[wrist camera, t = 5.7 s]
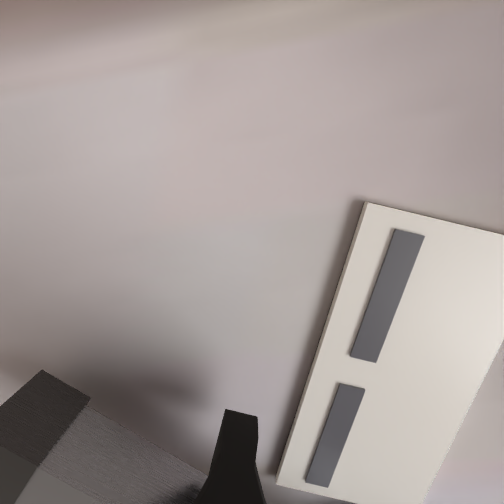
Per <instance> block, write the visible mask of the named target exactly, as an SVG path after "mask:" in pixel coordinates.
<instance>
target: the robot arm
mask: <svg viewBox="0 0 504 504" xmlns="http://www.w3.org/2000/svg"><path fill="white" fill-rule="evenodd" d="M257 444H258V419H257V417H256V416H252V415H248V414H244V413H240V412H236V411H232V410H228V409H225V413H224V416H223V420H222V424H221V428H220V432H219V436H218V440H217V443H216V447H215V451H214V455H213V459H212V463H211V467H210V472H209V476H208V478H207V479H206V481H205V483H204V485H203V486H202V488H201V490H200V492H199V493H198V495H197V497H196V499H195V500H194V502H193V504H266V501H265V498H264V494H263V490H262V486H261V483H260V479H259V475H258V471H257V467H256V462H255V460H256V452H257Z"/></svg>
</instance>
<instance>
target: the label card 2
mask: <svg viewBox="0 0 504 504" xmlns="http://www.w3.org/2000/svg"><path fill="white" fill-rule="evenodd" d="M503 339H504V235H502V234H498V233H494V232H490V231H486V230H482V229H477V228H473V227H469V226H465V225H461V224H457V223H453V222H448V221H444V220H440V219H436V218H432V217H428V216H423V215H419V214H415V213H411V212H407V211H403V210H398V209H394V208H390V207H386V206H382V205H378V204H374V203H369V202H365V203H364V206H363V209H362V212H361V215H360V218H359V221H358V225H357V228H356V231H355V234H354V237H353V240H352V243H351V246H350V249H349V252H348V255H347V258H346V262H345V265H344V268H343V271H342V274H341V277H340V280H339V283H338V286H337V289H336V292H335V295H334V299H333V302H332V305H331V308H330V311H329V314H328V317H327V320H326V323H325V326H324V329H323V332H322V336H321V339H320V342H319V345H318V348H317V351H316V354H315V360H316V363H321V364H325V365H329V366H333V367H338V368H342V369H346V370H350V371H355V372H359V373H363V374H367V375H372V376H376V377H380V378H384V379H389V380H393V381H397V382H401V383H405V384H410V385H414V386H418V387H422V388H427V389H431V390H435V391H439V392H444V393H448V394H452V395H456V396H461V397H465V398H469V399H473V400H474V398H475V396H476V394H477V392H478V390H479V388H480V386H481V384H482V382H483V380H484V378H485V376H486V374H487V372H488V370H489V368H490V366H491V364H492V362H493V360H494V358H495V356H496V354H497V352H498V350H499V348H500V346H501V344H502V342H503Z"/></svg>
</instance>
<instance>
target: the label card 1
mask: <svg viewBox="0 0 504 504" xmlns="http://www.w3.org/2000/svg"><path fill="white" fill-rule="evenodd" d="M472 402H473V399H469V398H465V397H461V396H456V395H452V394H448V393H444V392H439V391H435V390H431V389H427V388H422V387H418V386H414V385H410V384H405V383H401V382H397V381H393V380H389V379H384V378H380V377H376V376H372V375H367V374H363V373H359V372H355V371H350V370H346V369H342V368H338V367H333V366H329V365H325V364H321V363H316V360H315V357H314V360H313V363H312V366H311V369H310V373H309V376H308V379H307V382H306V385H305V388H304V391H303V394H302V397H301V400H300V403H299V406H298V410H297V413H296V416H295V419H294V422H293V425H292V428H291V431H290V434H289V437H288V440H287V443H286V447H285V450H284V453H283V456H282V459H281V462H280V465H279V468H278V471H277V474H276V485H279V486H283V487H287V488H292V489H296V490H300V491H305V492H309V493H313V494H318V495H322V496H326V497H331V498H335V499H339V500H343V501H348V502H352V503H356V504H422V503H423V501H424V499H425V497H426V495H427V493H428V491H429V489H430V487H431V485H432V483H433V481H434V479H435V477H436V475H437V473H438V471H439V469H440V467H441V465H442V463H443V461H444V458H445V456H446V454H447V452H448V450H449V448H450V446H451V444H452V442H453V440H454V438H455V436H456V434H457V432H458V430H459V428H460V426H461V424H462V422H463V420H464V418H465V416H466V414H467V412H468V410H469V408H470V406H471V404H472Z"/></svg>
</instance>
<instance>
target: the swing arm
mask: <svg viewBox="0 0 504 504" xmlns="http://www.w3.org/2000/svg"><path fill="white" fill-rule="evenodd" d="M89 400H90V397H88V396H86V395H85V394H83V393H81V392H79V391H78V390H76V389H74V388H73V387H71V386H69V385H67V384H66V383H64V382H62V381H61V380H59V379H57V378H55V377H54V376H52V375H50V374H48V373H47V372H45V371H43V370H41V371H40V372H39V373H38V374H36V375H35V376H34V377H33V378H32V379H31V380H30V381H29V382H27V383H26V384H25V385H24V386H23V387H22V388H21V389H19V390H18V391H17V392H16V393H15V394H14V395H13V396H12V397H10V398H9V399H8V400H7V401H6V402H5V403H4V404H2V405H1V406H0V504H193V502H194V500H195V499H196V497H197V495H198V493H199V492H200V490H201V488H202V486H203V485H204V483H205V481H206V479H207V478H208V475H206V474H204V473H203V472H201V471H199V470H197V469H196V468H194V467H192V466H190V465H189V464H187V463H185V462H183V461H182V460H180V459H178V458H177V457H175V456H173V455H171V454H170V453H168V452H166V451H164V450H163V449H161V448H159V447H157V446H156V445H154V444H152V443H151V442H149V441H147V440H145V439H144V438H142V437H140V436H138V435H137V434H135V433H133V432H131V431H130V430H128V429H126V428H125V427H123V426H121V425H119V424H118V423H116V422H114V421H112V420H111V419H109V418H107V417H105V416H104V415H102V414H100V413H99V412H97V411H95V410H93V409H92V408H90V407H88V406H86V405H87V403H88V402H89Z"/></svg>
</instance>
